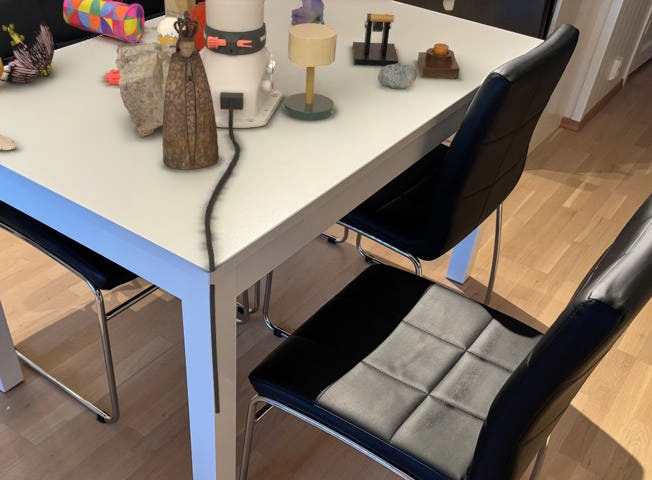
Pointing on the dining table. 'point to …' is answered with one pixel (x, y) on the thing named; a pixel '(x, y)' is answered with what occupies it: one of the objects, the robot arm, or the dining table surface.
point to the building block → (113, 77)
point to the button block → (438, 65)
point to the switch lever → (380, 21)
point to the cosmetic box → (178, 7)
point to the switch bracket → (375, 48)
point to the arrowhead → (6, 143)
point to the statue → (188, 106)
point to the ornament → (168, 31)
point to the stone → (144, 82)
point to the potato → (1, 69)
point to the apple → (199, 24)
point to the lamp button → (440, 49)
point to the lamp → (310, 68)
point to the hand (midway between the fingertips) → (447, 8)
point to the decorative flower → (30, 55)
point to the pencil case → (106, 18)
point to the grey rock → (397, 75)
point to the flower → (308, 13)
